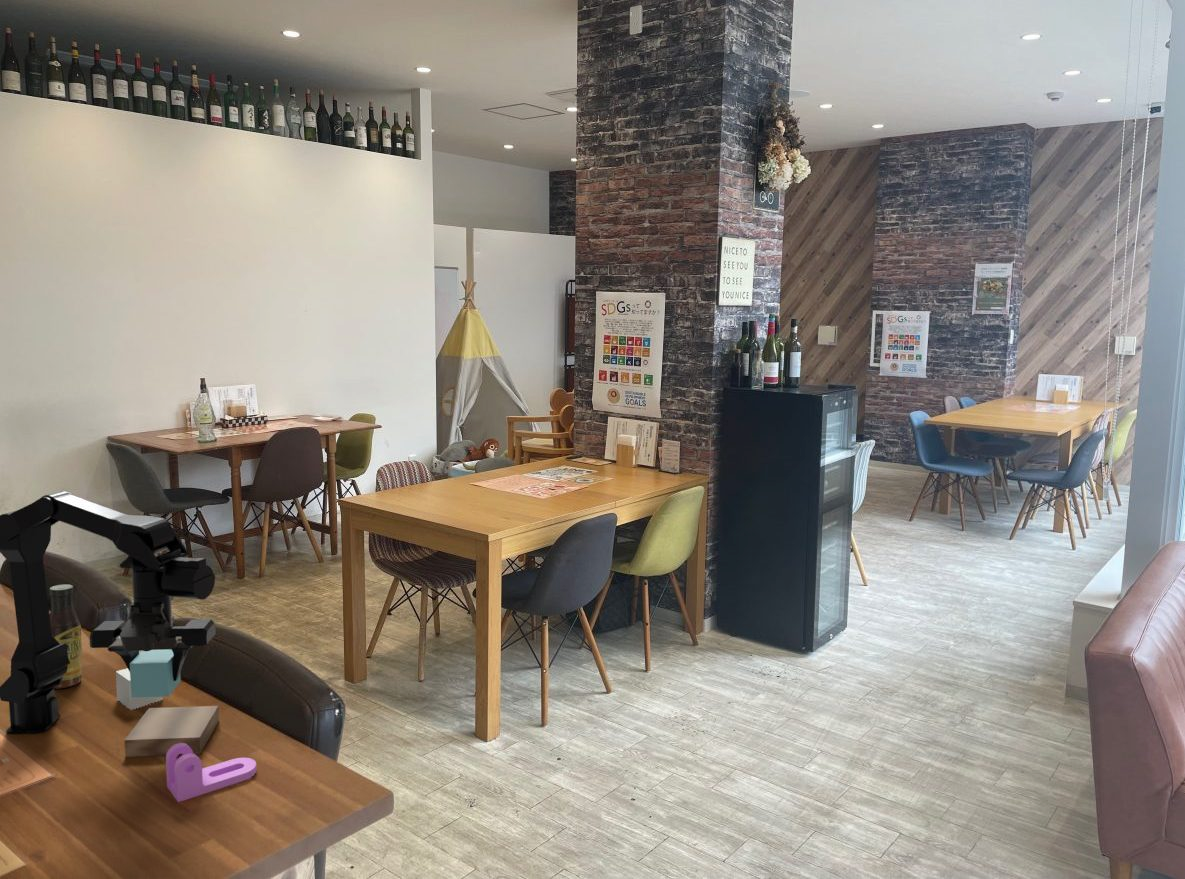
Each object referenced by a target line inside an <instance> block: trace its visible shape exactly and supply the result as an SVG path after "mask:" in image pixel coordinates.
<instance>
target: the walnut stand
mask: <svg viewBox="0 0 1185 879" xmlns="http://www.w3.org/2000/svg"><path fill="white" fill-rule="evenodd" d="M219 710H220V708H219V705H205V706H202V705H201V706H200V705H199V706H174V707H149V708H148V709H147V710H146V711H145V713H144V714H143V715H142V716H141V718H140V719H139V721H138V722H137V723H136V724H135V725H134V727H133V728H132V730H131V731H130V732H129V734H128V735H127V736H126V737H125V739H124V753H125V757H127V758H130V757H132V758H133V757H151V756H153V757H154V756H166V754H167V752H168V750H169V749H170V748H171V747H172V746H173V745H175V744H178V743H185V744H187V745H188V746H189V747H190V748H191V749H192V751H193V754H195V755H199V754H202V751H203V749H204V748H205V747H206V745H207V743H208V741H209V739H210V738H211V736H212V734H213V733H214V730H215V729H216V727H217V725H218V724H219V722H220V719H219V718H220V717H219V715H220V714H219ZM181 754H182V755H183V753H181ZM181 754H180V756H182V755H181Z"/></svg>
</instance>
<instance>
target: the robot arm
mask: <svg viewBox="0 0 1185 879" xmlns="http://www.w3.org/2000/svg"><path fill="white" fill-rule="evenodd" d="M58 522H60V523H64V524H67V525H69V526H72V527H75V528H78V529H81V530H82V531H86V532H89V533H91V534H94V535H97V536H100V537H103V538H106V539H107V540H110V542H112V543H113V545H114V546H115V547H116V549H117V550H119V551H120V552H122V553H124V554H126V555H127V557H126V558H125V559H124V560H123V561H122V562H121V563H120V564H119V568H122V569H130V570H131V580H132V596H133V598H132V599H133V601H132V602H133V603H131V605H130V609H129V610H130V614H129V617H128V620H127V621H126V620H104V621H103V622H102V623H100V624H99V625H98V626H97V627H96V628H95V629H93V630H92V631H91V632H90V634H89V647H90V648H91V649H107V651H108V652H111V653H112V652H113V653H116V654H117V655H118V656H120V658H121V659H122V661H123V662H124V664H125V665H126V667H127V668H128V670H129V672H130V663H131V662H132V661H133V660H134V659H135V658H136V657H137V656H138V655H139V654H140V652H142V651H151V650H155V647H156V645H157V644H159V643H160V642H166V641H167V640H168V639H175V641H176V643H175V644H174V645H173V646H172V647H171V648H170V649H172V652H173V655H174V656H173V680H174V681H177V679H178V677H179V674H180V675H181V671H182V669H183V665H184V662H185V660H186V658H187V654H188V652H189V650H191V649H192V648H193V647H200V646H201V647H202V646H205V645H208V644H209V642H210V641H211V640H212V639H213V638H214V637H215V635H216V633H217V631H216V629H217V628H216V624H215V622H214V621H213V620H212V619H211V618H209V619H207V618H205V619H204V618H203V619H202V618H201V619H191V620H189V621H188V622H187V623H186V625H185V626H183V625H181V626H173V624H174V623H175V616H174V615H173V612H172V601H173V600H174V598H181V599H182V598H184V599H191V600H201V601H203V600H206V599H207V598H208V597H209V596H210V595H211V594H212V593H213V590H214V587H215V583H216V575H215V573H214V570H213V569H212V567H211V566H209V565H208V564H207V559H206V558H205V557H196V558H193V557H190V556H189V555H190V552H189V551H188V549H187V547H185V545H184V544H183V542H182V541H181V539H180V538H179V536H178V535H177V533H176V532H175V531H174V528H173V527H172V524H171V521H169V520H167V519H165V518H163V517H157V516H152V515H151V516H150V515H142V514H141V515H135V514H134V515H132V514H125V513H122V512H120V511H117V510H114V509H113V508H109V507H107V506H103V505H101V504H99V503H95V502H92V501H90V500H87V499H84V498H81V497H78V496H76V495H73V493H71V492H70V491H65V490H61V491H57V492H53V493H48V494H45V495H42V496H41V497H39V498H38V499H37V500H35V501H33V502H32V503H29V504H28V505H26V506H24V507H22V508H19V509H18V510H17V509H16V510H14V511H11V512H10V511H9V512H7V513H2V514H0V554H1V555H2V557H4V558H5V559H6V560H7V561H8V563H9V568H10V578H11V585H12V586H11V587H12V595H13V601H14V602H13V603H14V611H15V618H16V626H17V627H16V628H17V633H18V634H17V635H18V643H17V645H16V647H15V650H14V653H12V656H11V659H10V676H9V677H8V678H6V679H5V681H4V682H2V684H1V685H0V701H2V702H7V703H8V709H9V710H8V711H9V724H10V726H8V727H7V729H6V730H5V733H6V734H23V733H24V734H25V733H44V732H46V731H47V730H48V729H50V727H52V725H53V724H54V723H55V722H56V721H57V720H58V719H59V718H60V717H61V714H60V712H59V702H58V697H57V695H55V688H53V687H55V686H58V685H60V684H61V681H62V678H63V675H64V674H65V673H66V672H67V665H68V664H70V661H69V659H68V655H67V650H68V646H67V644H66V643H61V644H60V643H59V642H58V641H57V640H56V639H55V638H54V637H53V636H52V632H51V623H50V615H49V614H50V607H49V599H48V589H47V582H46V574H45V565H44V556H45V554H46V551H47V549H48V547H49V546H50V542H51V536H52V526H54V525H56V524H57V523H58ZM166 550H168V551H166ZM164 551H166V552H164ZM161 552H164V553H162V554H159V553H161ZM156 554H159V555H156ZM188 556H189V557H188ZM127 668H126V669H127Z"/></svg>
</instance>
